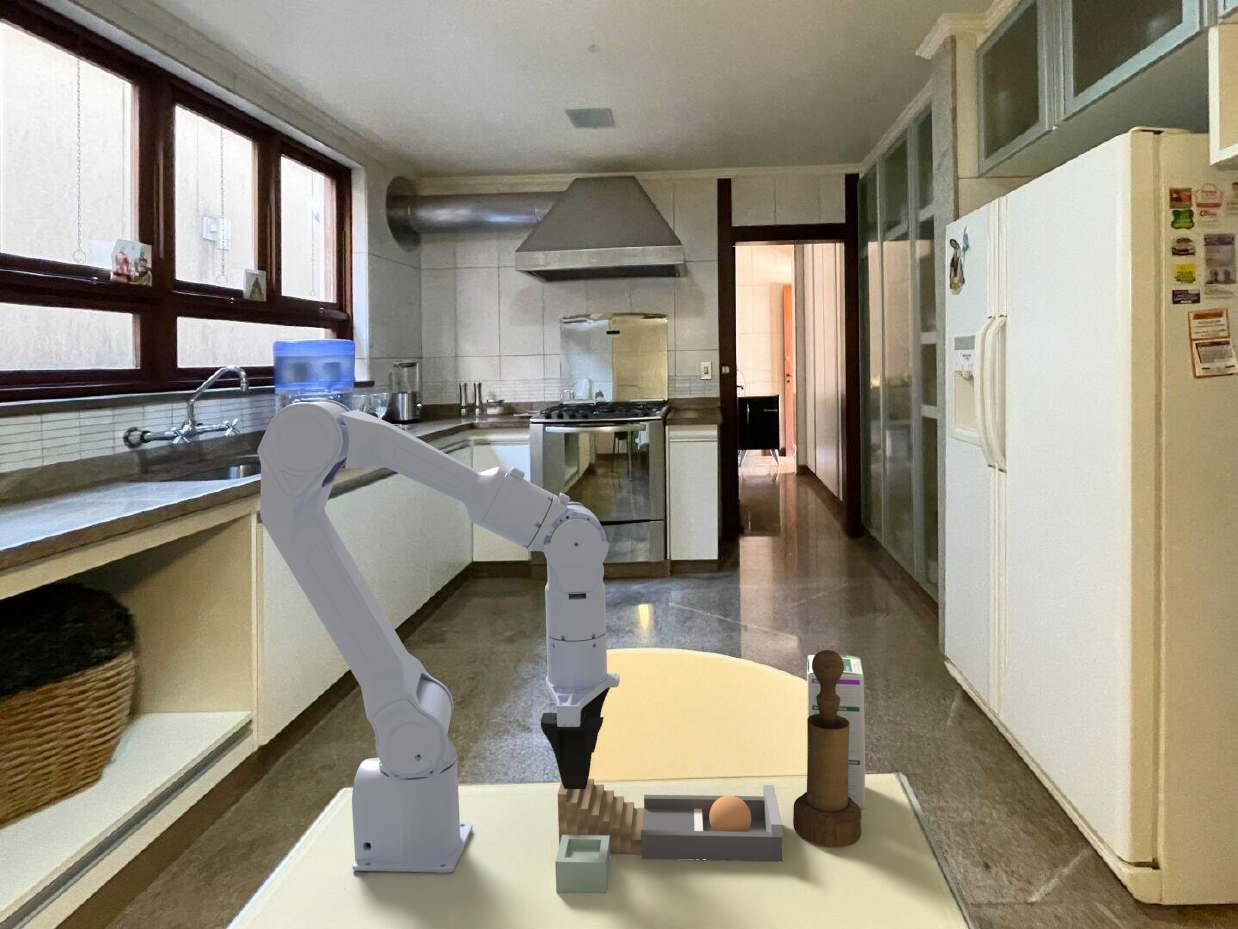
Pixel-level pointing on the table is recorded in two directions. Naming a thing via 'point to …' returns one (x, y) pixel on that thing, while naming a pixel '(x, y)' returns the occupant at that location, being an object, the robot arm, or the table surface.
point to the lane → (709, 829)
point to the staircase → (600, 817)
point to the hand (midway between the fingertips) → (580, 768)
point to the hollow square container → (583, 864)
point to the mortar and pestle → (827, 766)
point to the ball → (730, 815)
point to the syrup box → (853, 711)
